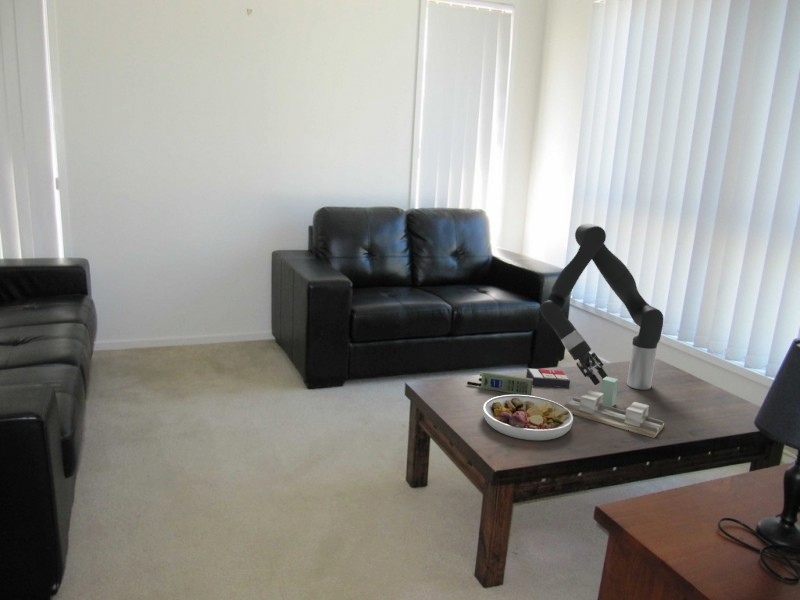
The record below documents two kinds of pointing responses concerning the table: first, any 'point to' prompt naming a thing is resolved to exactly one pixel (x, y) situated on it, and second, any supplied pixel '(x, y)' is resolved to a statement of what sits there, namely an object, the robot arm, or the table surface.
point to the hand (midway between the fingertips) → (601, 380)
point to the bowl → (527, 417)
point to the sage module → (609, 391)
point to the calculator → (547, 377)
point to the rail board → (615, 414)
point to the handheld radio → (504, 383)
